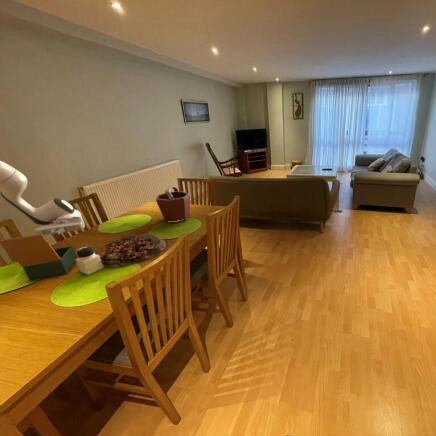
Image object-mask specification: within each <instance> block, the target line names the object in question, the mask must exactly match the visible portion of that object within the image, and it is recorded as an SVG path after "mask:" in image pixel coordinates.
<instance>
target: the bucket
mask: <svg viewBox="0 0 436 436" xmlns="http://www.w3.org/2000/svg"><path fill="white" fill-rule="evenodd" d="M172 189H173V191H171V190H172ZM155 200H156V204H157V207H158V209H159V211H160V213H161V215H162V217H163V219H164V221H165V223H168V224H169V223H170V224H178V223H177V222H175V223H174V222H168V221H177V220H182V219H186V218H187V217H188V218H187V219H186V221H187V220H188V219H189V218H190V216H191V215H190V214H191V193H189V192H187V191H183V190H182V191H181V190H180V191H179V188H178V187H177V186H175V185H170V186H168V187H166V189H165V190H164V193H160V194H157V195H156V197H155Z"/></svg>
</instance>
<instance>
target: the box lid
mask: <svg viewBox="0 0 436 436" xmlns="http://www.w3.org/2000/svg"><path fill="white" fill-rule="evenodd" d="M0 245H1V246H2V248H3V249H4V250H5V251H6V252H7V253H8V254H10V256H11V257H12V259H14V260H15V262H17V264H18V265H20V267H22V268H23V266H29V265H35V264H40V263H46V262H51V261H57V260H61V258H60V257H59V256H58V254H57V253H56V252H55V250H54V249H55V248H53V246H52V245H51V244H50V242H49V241H48V240H47V238H46V237H45V235H43V234H39V235H35V234H34V235H33V234H31V235H26V236H17V237H12V238H4V239H0Z"/></svg>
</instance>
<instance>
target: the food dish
mask: <svg viewBox="0 0 436 436" xmlns="http://www.w3.org/2000/svg"><path fill="white" fill-rule="evenodd" d="M103 247H105V249H104V251H103V252H102V253H101V254H99V252H100V250H102V249H103V248H102V247H101V246H100V247H98V248H99V249H98V248H97V249H96V250H94V253H95V254H96V255H99V256H100V258H101V261H100V262H102V264H103V267H104V268H109V267H110V268H119V267H126V266H130V265H132V264H134V263H141V262H144V261H146V260H150V259H152V258H155V257H156V256H158V254H159V253H161V252H163V251H164V250H165V249H166V248H167V243H166V241H165V240H164V239H163V238H161V237H160V236H159V235H156V234H152V233H151V234H150V233H142V234H135V235H134V234H133V235H130V236H126V237H125V236H124V237H121V238H119V239H115V240H113V241H110V242H107V244H104V245H103Z"/></svg>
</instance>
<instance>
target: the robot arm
mask: <svg viewBox="0 0 436 436" xmlns="http://www.w3.org/2000/svg"><path fill="white" fill-rule="evenodd" d="M27 186H28V178H27V177H26V176H25V174H24V173H22V172H21V171H20V170H19V169H16V168H14V166H12V165H10V164H8V163H6V162H4V161H3V160H0V196H1V197H2V198H3V199H4V200H5V201H6V202H7V203H8V204H10V205H12V207H14V208H16V209H17V210H18V211H20V212H21V213H22V214H24V215H25V216H26V217H27V218H28V219H29V220H30V221H31V222H33V223H34V224H36V225H38V227H36V228H34V230H33V233H34V235H39V234H43V236H47V235H51V236H57V235H60V234H62V233H70V232H77V231H82V230H84V229H85V227H86V224H85V220H84V219H83V217H82V213H81V212H80V211H79V210H77V209H75V207H74V206H73V205H72V203H70V202H69V201H67V200H66V199H63V198H52V199H51V200H49V201H48V202H46V203H44V204H42V205H41V206H39V207H33V206H32V204H30V203H28V202H27V201H26V200H25V199H24V198H23V197H22V194H23V193H24V191H26V189H27Z"/></svg>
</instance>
